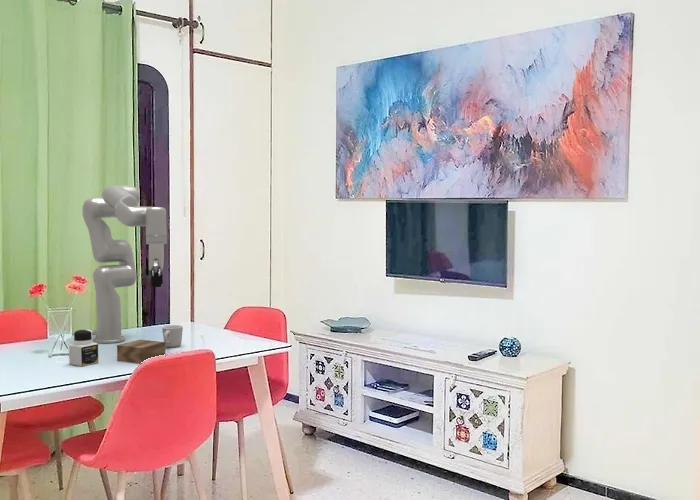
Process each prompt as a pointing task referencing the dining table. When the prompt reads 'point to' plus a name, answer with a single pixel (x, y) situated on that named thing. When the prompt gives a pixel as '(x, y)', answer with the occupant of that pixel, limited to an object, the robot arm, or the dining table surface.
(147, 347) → the walnut block
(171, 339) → the cup
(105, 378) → the dining table surface
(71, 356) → the medicine bottle
